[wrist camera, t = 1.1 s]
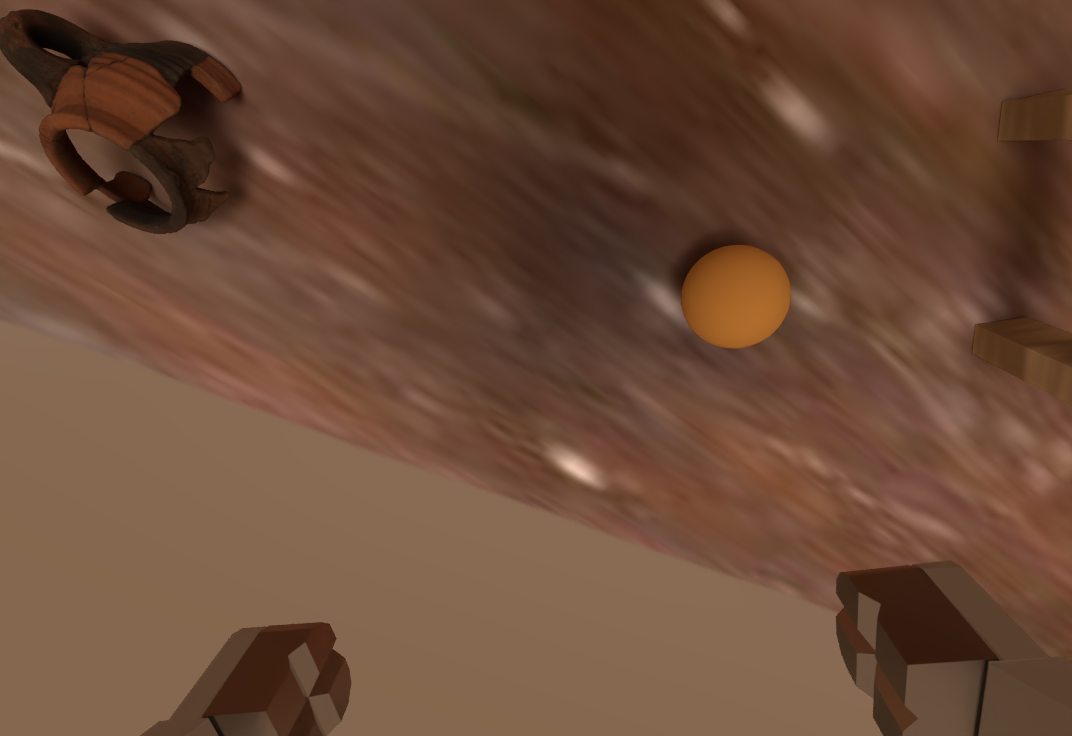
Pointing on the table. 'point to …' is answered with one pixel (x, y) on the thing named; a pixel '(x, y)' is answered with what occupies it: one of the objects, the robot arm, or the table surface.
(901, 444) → the table surface
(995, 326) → the bridge
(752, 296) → the ball
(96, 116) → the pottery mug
